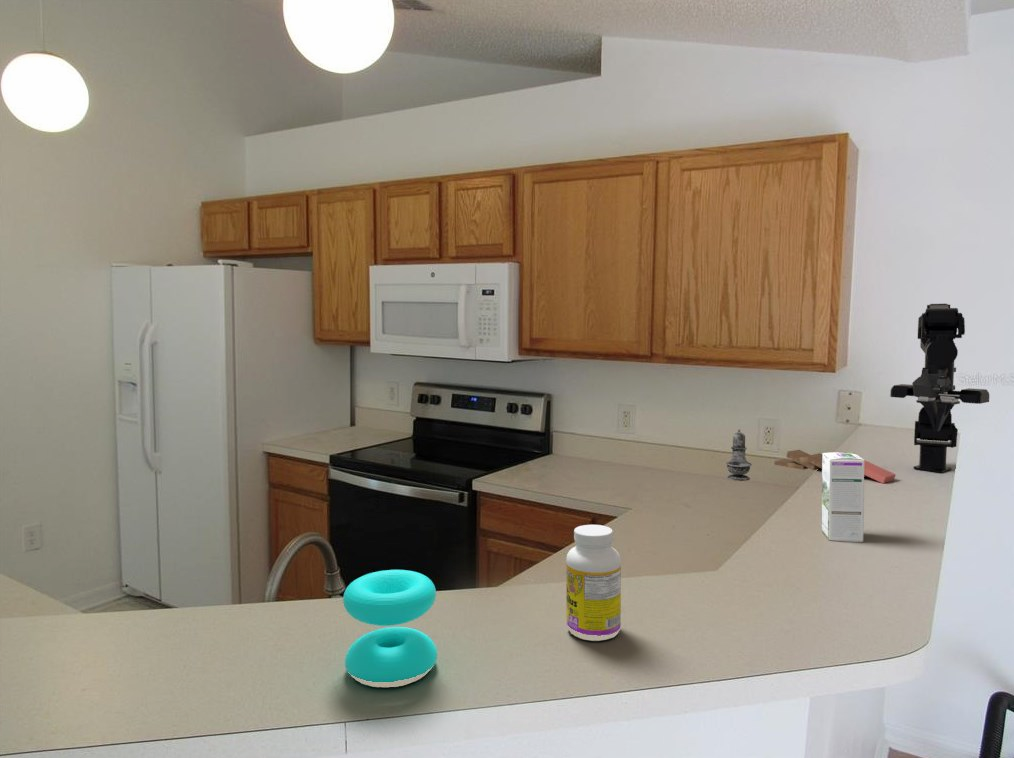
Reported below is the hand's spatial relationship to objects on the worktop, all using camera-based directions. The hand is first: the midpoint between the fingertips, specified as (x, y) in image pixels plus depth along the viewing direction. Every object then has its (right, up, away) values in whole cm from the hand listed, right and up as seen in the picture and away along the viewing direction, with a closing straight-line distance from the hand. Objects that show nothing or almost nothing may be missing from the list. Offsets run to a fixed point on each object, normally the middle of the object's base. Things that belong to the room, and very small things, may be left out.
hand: (936, 430), depth 159 cm
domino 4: (-10, -11, +1) cm, 15 cm away
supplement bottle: (-88, -19, -74) cm, 117 cm away
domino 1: (-22, -11, +17) cm, 30 cm away
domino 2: (-20, -10, +15) cm, 27 cm away
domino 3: (-17, -11, +10) cm, 22 cm away
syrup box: (-40, -16, -38) cm, 58 cm away
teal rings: (-112, -20, -83) cm, 141 cm away
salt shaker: (-43, -12, +7) cm, 45 cm away
